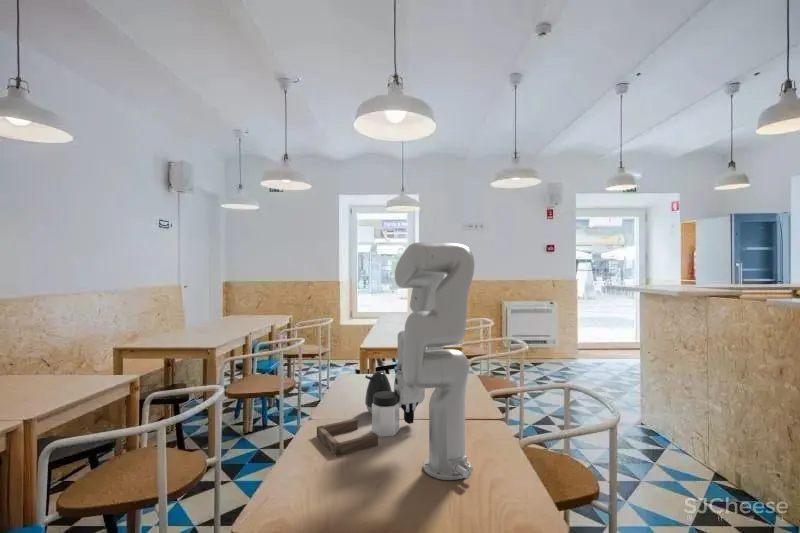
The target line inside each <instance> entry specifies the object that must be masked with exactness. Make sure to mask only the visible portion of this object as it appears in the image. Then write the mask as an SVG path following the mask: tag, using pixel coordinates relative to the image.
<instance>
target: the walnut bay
mask: <svg viewBox="0 0 800 533" xmlns="http://www.w3.org/2000/svg"><path fill="white" fill-rule="evenodd" d="M358 422H359V421H358V419H357V418H353V419H347V420H343V421H339V422H338V421H337V422H333V423H328V424H324V425H319V426H316V437H317V438H318V439H319V440H320V441H321V443H323V445H324V446H325V447H326V448H327V449H328V448H329V449H330V450H331V451H332V452H333V453H334V454H335V455H336V456H335V455H334V454H333V453H332V452H331V451H330V450H329V449H328V450H329V451H330V452H331V453H332V454H333V455H334V456H335V457H338V456H343V455H347V454H351V453H355V452H359V451H362V450H366V449H371V448H374V447H378V446H379V436H378V435H377V434H375V433H373V434H370V435H365V436H361V437H357V438H353V439H349V440H344V441H340V442H339V441H338V440H337V439H336V438H335V437H333V435H338V434H342V433H346V432H347V433H348V432H350V431H351V432H352V431H355V430H358V428H359V426H358Z"/></svg>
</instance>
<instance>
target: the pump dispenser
mask: <svg viewBox="0 0 800 533" xmlns="http://www.w3.org/2000/svg"><path fill="white" fill-rule="evenodd" d="M365 379H366V380H367V379H368V380H369V382H368V385H367V388H366V392H365V402H364V404H365V407H366V409H367V411H368V412H369V413H370V414H371V415H372V403H373V395H374V394H375V393H377V392H381V391H391V392H393V390H392V387H391V383H390V381H389V379H388V377H387V375H386V373H384V371H381V370H379V371H375V372H374V373H373V374H372V375H367V374H366V375H365Z"/></svg>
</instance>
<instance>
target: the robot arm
mask: <svg viewBox="0 0 800 533" xmlns="http://www.w3.org/2000/svg"><path fill="white" fill-rule="evenodd" d="M474 274H475V259H474V254H473V252H472V250H471V249H470V247H469V246H467V245H464V244H462V243H458V242H457V243H456V242H423V241H422V242H420V241H419V242H413V243H411V244H409V245H408V246H407V247H406V249H405V250H404V252H403V253H402V255H401V256H400V258H399V259H398V261H397V264H396V266H395V270H394V280H395V281H394V282H395V284H396V285H397V287H399V288H401V289H412V290H411V296H410V302H409V308H410V310H411V311H412V312H411V313H410V314H409V315H408V316H407V318H406V320H405V324H404V330H400V331H399V332H398V334H397V364H396V366H394V370H395V375H394V376H395V377H394V383H393V392H395V393H397V394H398V402H399V409H402V410H403V421H404V422H405V423H406V424H408V425H410V424H413V423H414V419H415V411H416V408H417V406H418V405H419V404H420V405H421V404H422V403H423V402H424V400H425V398H426V389H434V390H433V391H432V393H431V396H430V398H429V403H428V448H429V449H428V456H427V457H426V458H425V460H424V461H423V463H422V465H423V467H422V469H423V470H424V472H425V474H427V475H429V476H430V477H433V478H434V479H437V480H442V481H458V480H461V479H467V478H468V477H469V476H470V474H471V473H472V472H473V470H474V469H473V467H472V465H471V463H470V461H469V460H468V455H466V394H467V393H466V392H467V382H468V378H469V372H470V364H469V360H468V357H467V355H466V354H465V353H464V352H462V351H461V350H458V349H454V348H447V347H453V346H457V345H458V346H459V345H461V343H463V341H464V340H465V335H466V327H467V314H468V313H467V312H468V297H469V291H470V288H471V284H472V281H473V277H474ZM445 275H446V276H445ZM445 347H446V348H445ZM444 348H445V349H444Z"/></svg>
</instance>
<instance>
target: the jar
mask: <svg viewBox="0 0 800 533" xmlns="http://www.w3.org/2000/svg"><path fill="white" fill-rule="evenodd" d="M399 431H400V408H399V402H398V394H397V393H395V392H394V391H392V392H391V391H381V392H377V393H375V394H374V395H373V403H372V414H371V433H373V434H377V435H378V437H379V438H380V437H394V436H396V435H397V433H398V432H399Z"/></svg>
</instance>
